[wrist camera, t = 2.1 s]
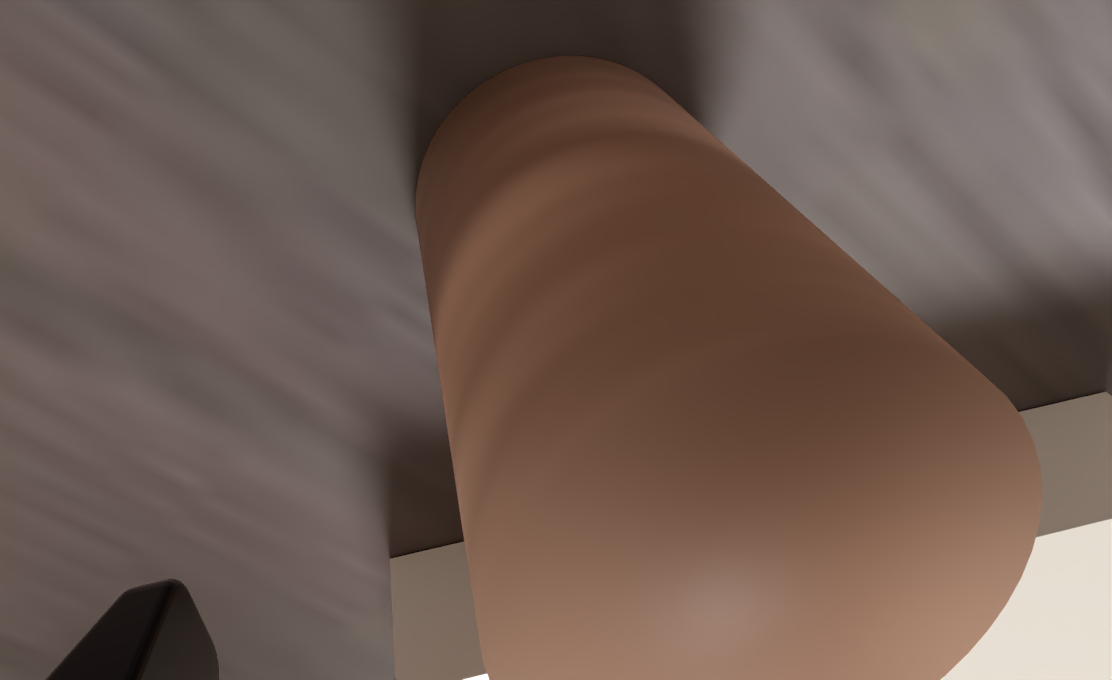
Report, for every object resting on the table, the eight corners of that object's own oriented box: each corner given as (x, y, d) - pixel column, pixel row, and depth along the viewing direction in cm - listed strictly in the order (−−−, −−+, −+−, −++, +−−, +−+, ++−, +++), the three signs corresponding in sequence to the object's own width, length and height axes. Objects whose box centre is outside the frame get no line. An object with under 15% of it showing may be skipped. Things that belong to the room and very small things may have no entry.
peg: (447, 359, 15) (527, 833, 8) (384, 87, 12) (419, 419, 6) (710, 302, 15) (1005, 705, 8) (696, 29, 13) (1085, 272, 6)
